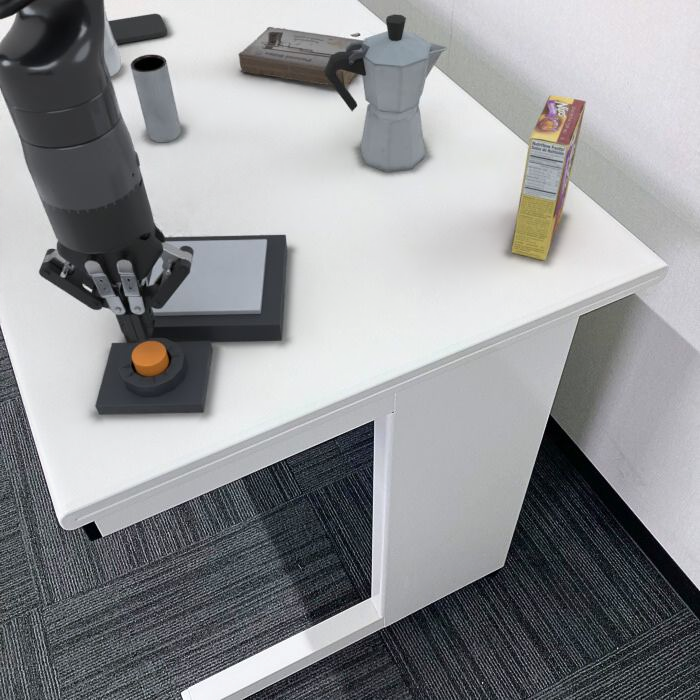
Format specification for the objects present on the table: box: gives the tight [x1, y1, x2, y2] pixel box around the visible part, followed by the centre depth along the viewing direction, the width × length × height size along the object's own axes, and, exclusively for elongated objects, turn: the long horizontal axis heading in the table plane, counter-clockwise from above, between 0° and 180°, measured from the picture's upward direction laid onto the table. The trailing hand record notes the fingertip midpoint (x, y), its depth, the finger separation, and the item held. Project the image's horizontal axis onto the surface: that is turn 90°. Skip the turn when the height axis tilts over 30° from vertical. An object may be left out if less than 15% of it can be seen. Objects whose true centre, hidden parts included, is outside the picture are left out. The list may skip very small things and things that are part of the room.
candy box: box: [511, 94, 587, 261], centre depth 81 cm, size 9×4×15 cm, turn 157°
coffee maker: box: [324, 13, 448, 173], centre depth 91 cm, size 15×9×18 cm, turn 100°
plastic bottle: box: [104, 4, 123, 77], centre depth 106 cm, size 6×7×20 cm
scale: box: [123, 234, 288, 343], centre depth 80 cm, size 16×14×3 cm
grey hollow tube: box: [130, 54, 182, 143], centre depth 98 cm, size 4×4×10 cm
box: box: [238, 26, 364, 88], centre depth 112 cm, size 11×17×3 cm, turn 67°
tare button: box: [132, 341, 169, 376], centre depth 70 cm, size 3×3×2 cm
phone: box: [108, 13, 168, 45], centre depth 121 cm, size 7×1×15 cm
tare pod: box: [95, 338, 214, 415], centre depth 72 cm, size 10×8×3 cm
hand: (141, 334), depth 68 cm, fingers closed
